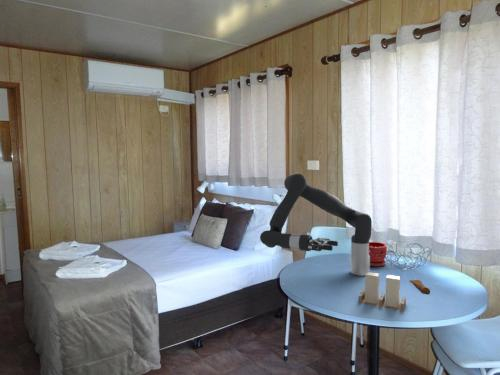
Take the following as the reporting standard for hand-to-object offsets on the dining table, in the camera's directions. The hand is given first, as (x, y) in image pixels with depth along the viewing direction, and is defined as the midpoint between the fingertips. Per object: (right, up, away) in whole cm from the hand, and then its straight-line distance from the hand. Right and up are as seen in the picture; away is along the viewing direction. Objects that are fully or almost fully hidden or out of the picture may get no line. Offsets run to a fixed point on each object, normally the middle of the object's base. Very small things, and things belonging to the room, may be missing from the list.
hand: (335, 245), depth 160 cm
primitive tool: (+44, -23, +13) cm, 51 cm away
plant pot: (+35, -19, +50) cm, 64 cm away
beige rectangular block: (+14, -23, -7) cm, 28 cm away
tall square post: (+21, -23, -11) cm, 33 cm away
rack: (+18, -24, -9) cm, 31 cm away
